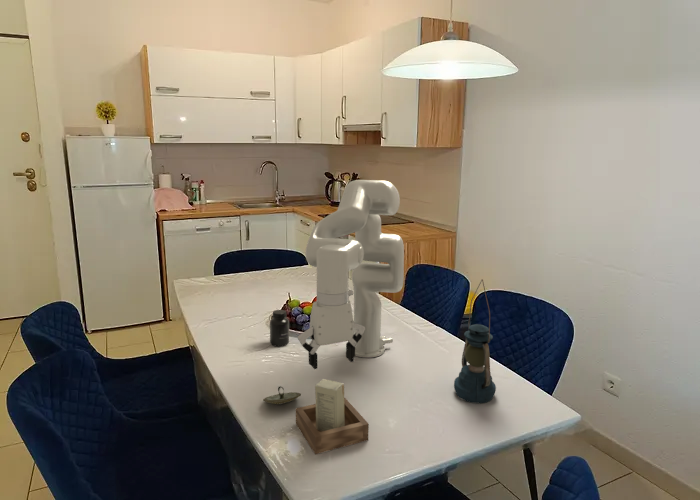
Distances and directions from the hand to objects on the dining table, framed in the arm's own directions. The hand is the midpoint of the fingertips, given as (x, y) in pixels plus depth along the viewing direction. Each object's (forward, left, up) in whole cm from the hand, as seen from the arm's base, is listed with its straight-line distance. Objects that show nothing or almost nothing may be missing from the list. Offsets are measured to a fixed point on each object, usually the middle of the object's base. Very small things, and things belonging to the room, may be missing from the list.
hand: (332, 363), depth 123 cm
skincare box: (+1, 0, -18) cm, 18 cm away
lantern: (-46, -1, -19) cm, 50 cm away
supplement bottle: (-5, -59, -19) cm, 62 cm away
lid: (+7, -18, -19) cm, 27 cm away
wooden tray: (0, 0, -19) cm, 19 cm away
